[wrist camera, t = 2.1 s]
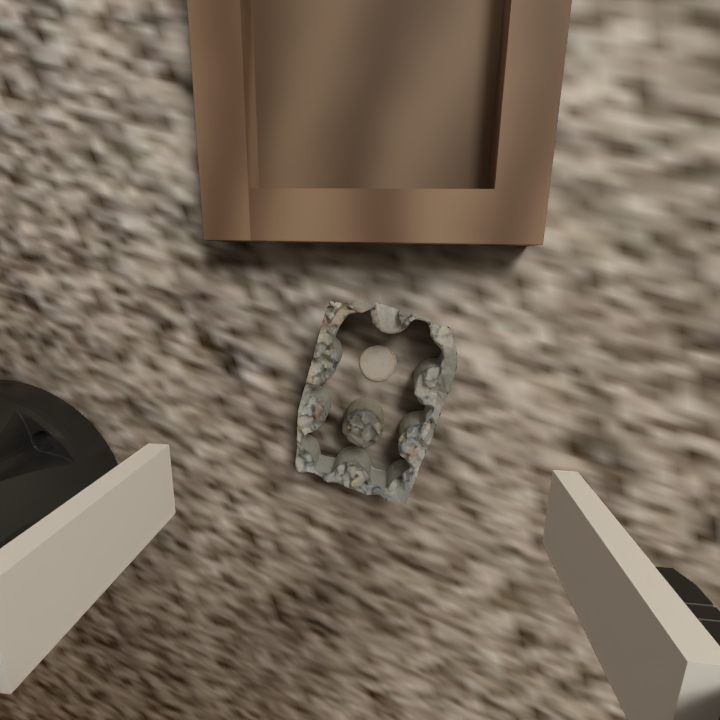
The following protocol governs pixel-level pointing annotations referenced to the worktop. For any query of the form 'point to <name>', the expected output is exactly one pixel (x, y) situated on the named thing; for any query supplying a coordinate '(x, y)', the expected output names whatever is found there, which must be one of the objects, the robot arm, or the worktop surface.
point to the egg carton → (373, 406)
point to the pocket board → (377, 119)
